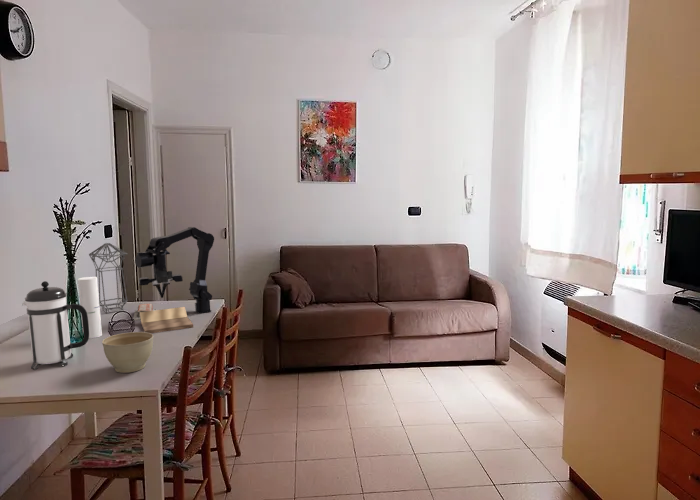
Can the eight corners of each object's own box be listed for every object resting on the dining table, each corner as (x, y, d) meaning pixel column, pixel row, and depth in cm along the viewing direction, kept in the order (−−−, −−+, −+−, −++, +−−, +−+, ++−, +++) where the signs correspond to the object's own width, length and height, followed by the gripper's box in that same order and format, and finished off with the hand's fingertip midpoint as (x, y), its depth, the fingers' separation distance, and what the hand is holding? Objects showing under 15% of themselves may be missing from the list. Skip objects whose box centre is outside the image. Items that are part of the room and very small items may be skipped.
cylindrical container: (105, 334, 219) (100, 277, 216) (91, 339, 213) (85, 280, 210) (94, 332, 222) (89, 276, 219) (79, 337, 216) (74, 279, 213)
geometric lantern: (99, 316, 252) (93, 245, 247) (93, 310, 264) (87, 243, 260) (133, 311, 261) (127, 242, 257) (125, 305, 274) (120, 240, 269)
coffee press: (44, 374, 173) (35, 287, 170) (20, 366, 182) (11, 283, 178) (92, 358, 188) (85, 278, 184) (68, 352, 196) (61, 275, 193)
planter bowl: (153, 373, 171) (151, 342, 170) (101, 379, 167) (98, 347, 165) (157, 358, 187) (155, 329, 185) (109, 363, 182) (106, 334, 181)
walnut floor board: (187, 320, 240) (187, 317, 240) (193, 327, 227) (193, 324, 227) (142, 326, 231) (141, 323, 230) (145, 334, 218) (145, 330, 218)
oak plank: (184, 309, 246) (184, 306, 245) (187, 319, 241) (187, 316, 240) (139, 314, 237) (139, 312, 236) (141, 325, 232) (141, 323, 231)
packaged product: (134, 304, 257) (155, 302, 261) (135, 313, 258) (156, 311, 261) (132, 312, 240) (155, 309, 244) (133, 322, 241) (155, 319, 244)
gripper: (139, 269, 225) (142, 303, 227) (183, 265, 234) (185, 298, 236) (137, 265, 235) (139, 299, 237) (179, 262, 244) (181, 294, 246)
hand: (162, 297), depth 239 cm, fingers closed
